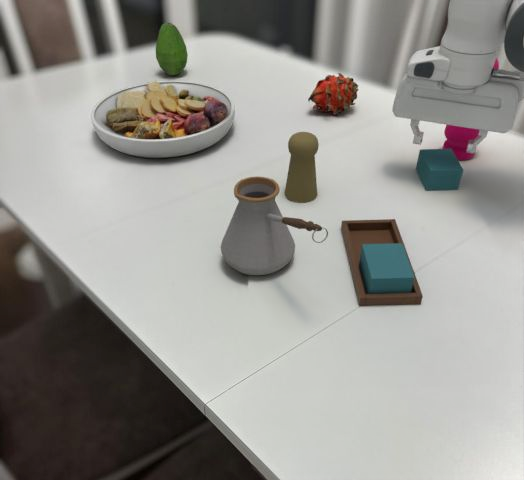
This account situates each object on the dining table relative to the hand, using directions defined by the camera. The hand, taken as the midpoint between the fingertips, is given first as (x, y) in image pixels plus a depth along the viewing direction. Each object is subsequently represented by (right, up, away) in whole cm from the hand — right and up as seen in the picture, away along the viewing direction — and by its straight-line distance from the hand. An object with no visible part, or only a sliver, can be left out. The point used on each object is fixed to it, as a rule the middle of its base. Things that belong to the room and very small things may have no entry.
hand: (443, 147), depth 95 cm
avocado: (-56, +35, +42) cm, 78 cm away
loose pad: (0, -4, +5) cm, 6 cm away
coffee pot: (-31, -26, -15) cm, 43 cm away
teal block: (-15, -26, -17) cm, 35 cm away
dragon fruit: (-17, +18, +26) cm, 35 cm away
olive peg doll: (-26, -8, +2) cm, 27 cm away
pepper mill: (+7, +3, +12) cm, 14 cm away
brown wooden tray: (-15, -24, -13) cm, 31 cm away
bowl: (-54, +11, +20) cm, 58 cm away
